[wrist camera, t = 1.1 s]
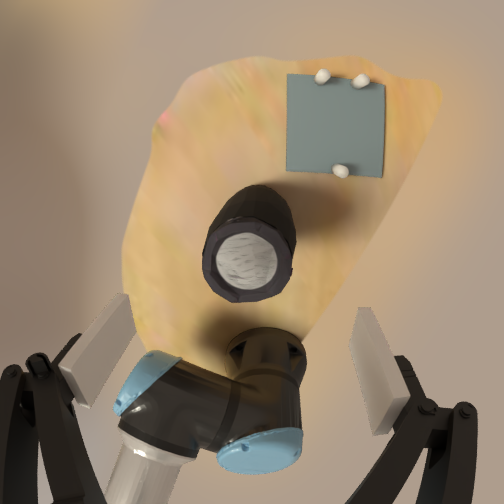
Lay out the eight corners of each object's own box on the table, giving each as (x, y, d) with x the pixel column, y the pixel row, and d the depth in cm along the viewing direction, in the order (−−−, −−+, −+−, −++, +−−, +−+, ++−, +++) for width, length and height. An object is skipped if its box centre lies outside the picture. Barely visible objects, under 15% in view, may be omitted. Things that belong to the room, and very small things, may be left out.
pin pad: (379, 177, 39) (391, 182, 35) (286, 171, 40) (287, 175, 36) (381, 85, 34) (394, 79, 29) (287, 74, 35) (288, 66, 30)
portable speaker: (300, 211, 42) (321, 268, 24) (253, 250, 45) (240, 328, 27) (260, 167, 40) (252, 191, 22) (213, 210, 43) (172, 265, 25)
